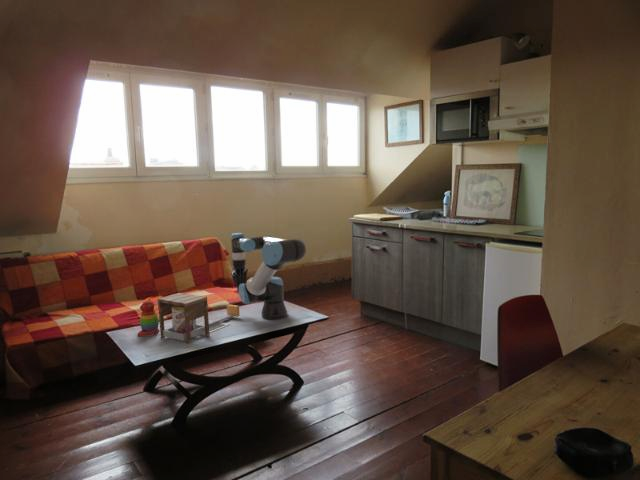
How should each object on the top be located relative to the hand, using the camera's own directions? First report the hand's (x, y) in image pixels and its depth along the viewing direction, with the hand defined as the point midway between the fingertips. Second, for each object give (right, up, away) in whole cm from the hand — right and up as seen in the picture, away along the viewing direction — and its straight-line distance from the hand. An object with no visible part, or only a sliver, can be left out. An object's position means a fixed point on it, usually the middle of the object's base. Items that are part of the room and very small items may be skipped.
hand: (240, 297), depth 271 cm
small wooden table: (-23, -16, -36) cm, 45 cm away
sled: (-15, -12, -24) cm, 30 cm away
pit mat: (-14, -13, -22) cm, 29 cm away
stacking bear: (-44, -15, -28) cm, 55 cm away
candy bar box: (-23, -16, -36) cm, 45 cm away
